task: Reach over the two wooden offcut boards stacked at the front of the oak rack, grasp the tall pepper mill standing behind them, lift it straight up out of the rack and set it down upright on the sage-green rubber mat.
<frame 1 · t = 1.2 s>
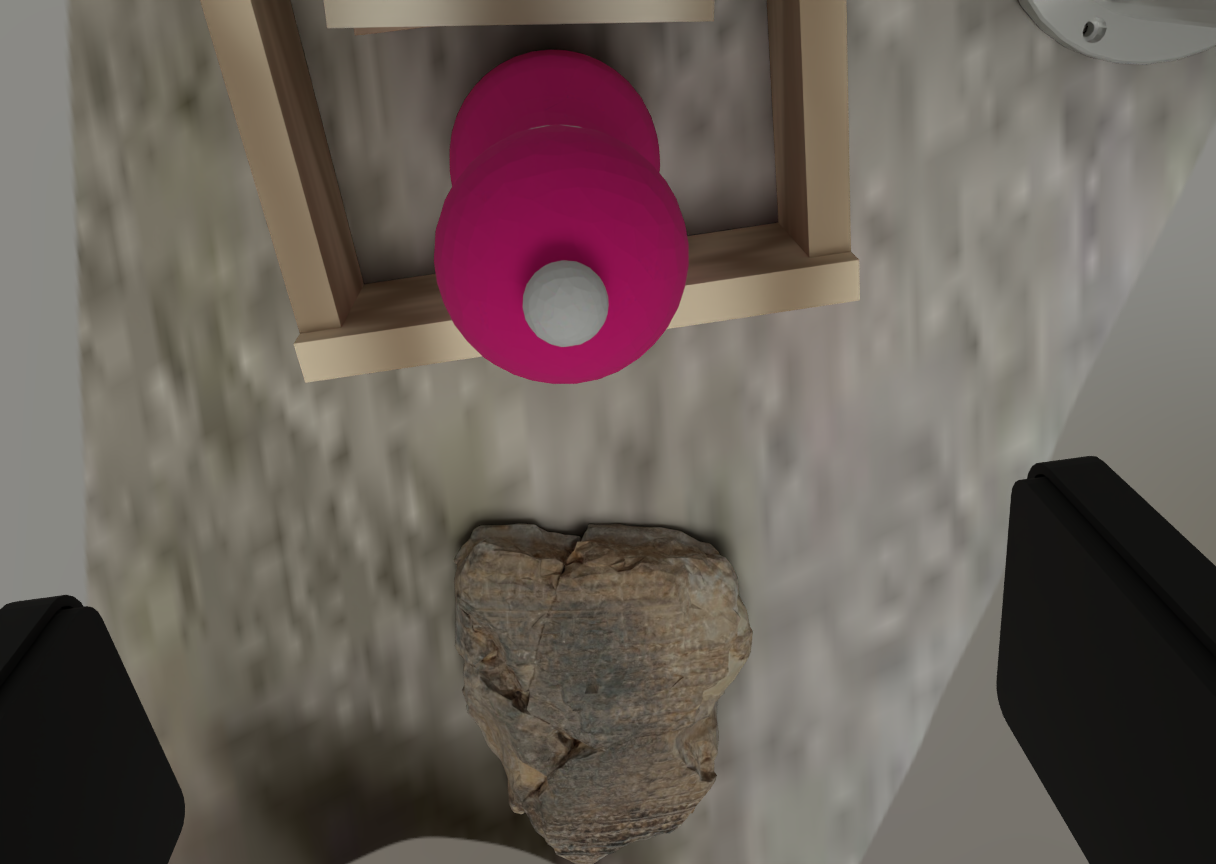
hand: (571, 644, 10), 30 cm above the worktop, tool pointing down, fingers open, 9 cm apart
clay tablet: (595, 677, 50), on the worktop
oak rack: (545, 86, 36), on the worktop
pepper mill: (553, 139, 37), on the worktop
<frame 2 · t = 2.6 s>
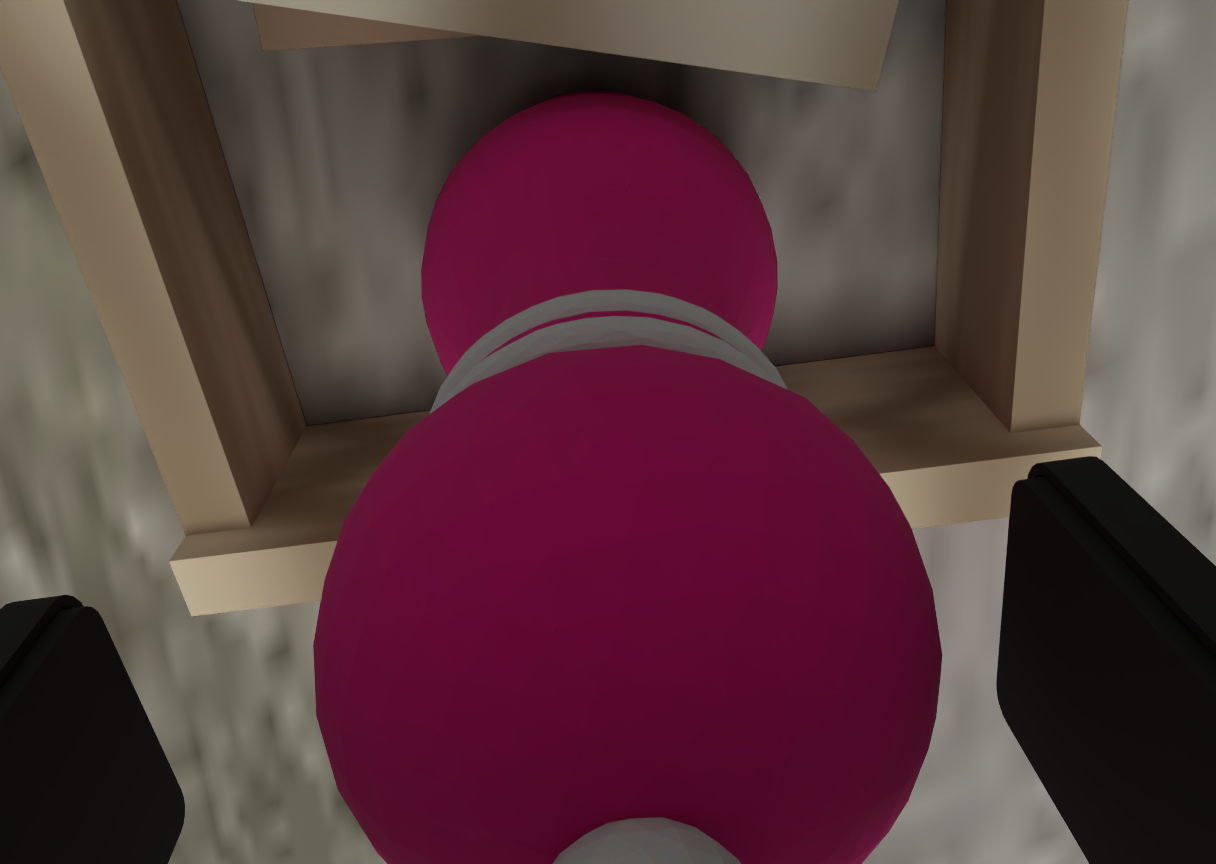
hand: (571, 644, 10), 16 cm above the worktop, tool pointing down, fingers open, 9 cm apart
oak rack: (584, 139, 23), on the worktop
pepper mill: (595, 220, 24), on the worktop
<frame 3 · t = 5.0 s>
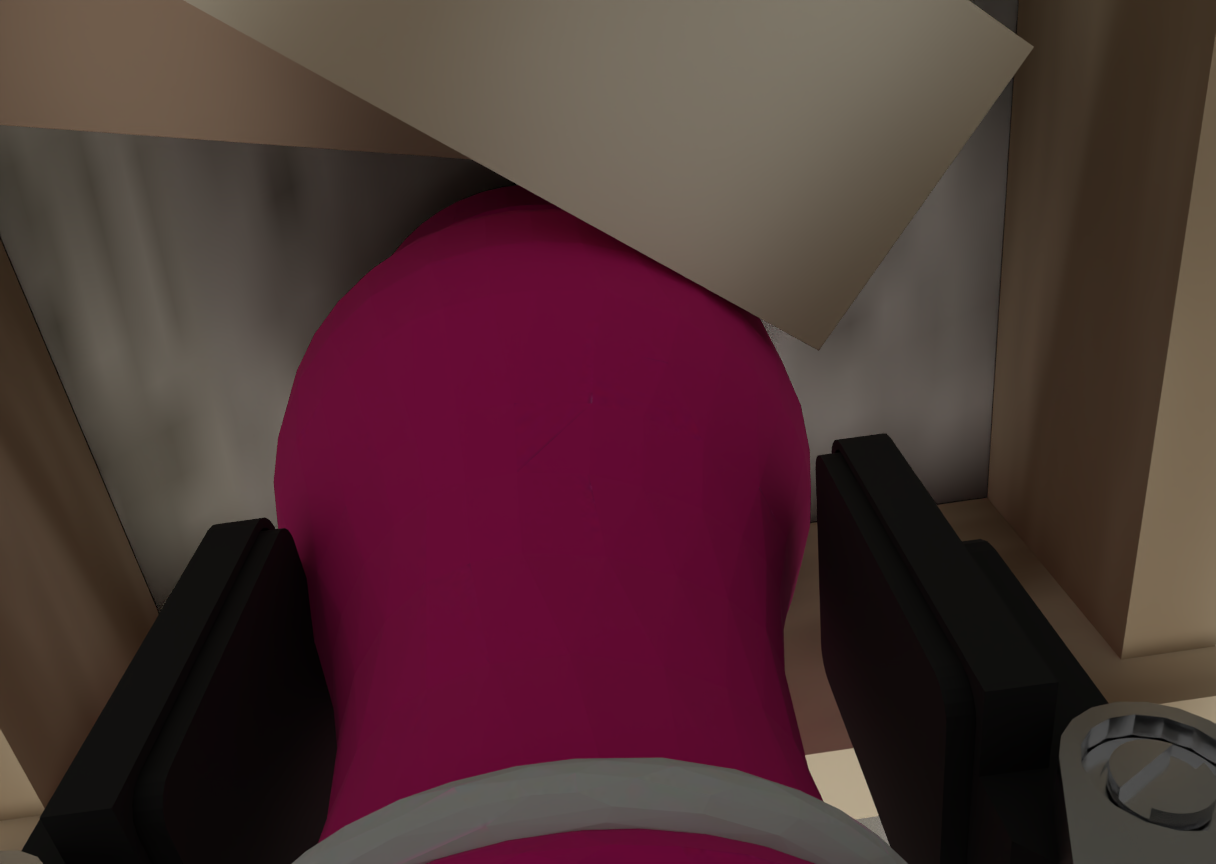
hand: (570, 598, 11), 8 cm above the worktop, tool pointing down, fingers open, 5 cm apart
oak rack: (520, 246, 17), on the worktop
pepper mill: (538, 351, 18), on the worktop, touching gripper
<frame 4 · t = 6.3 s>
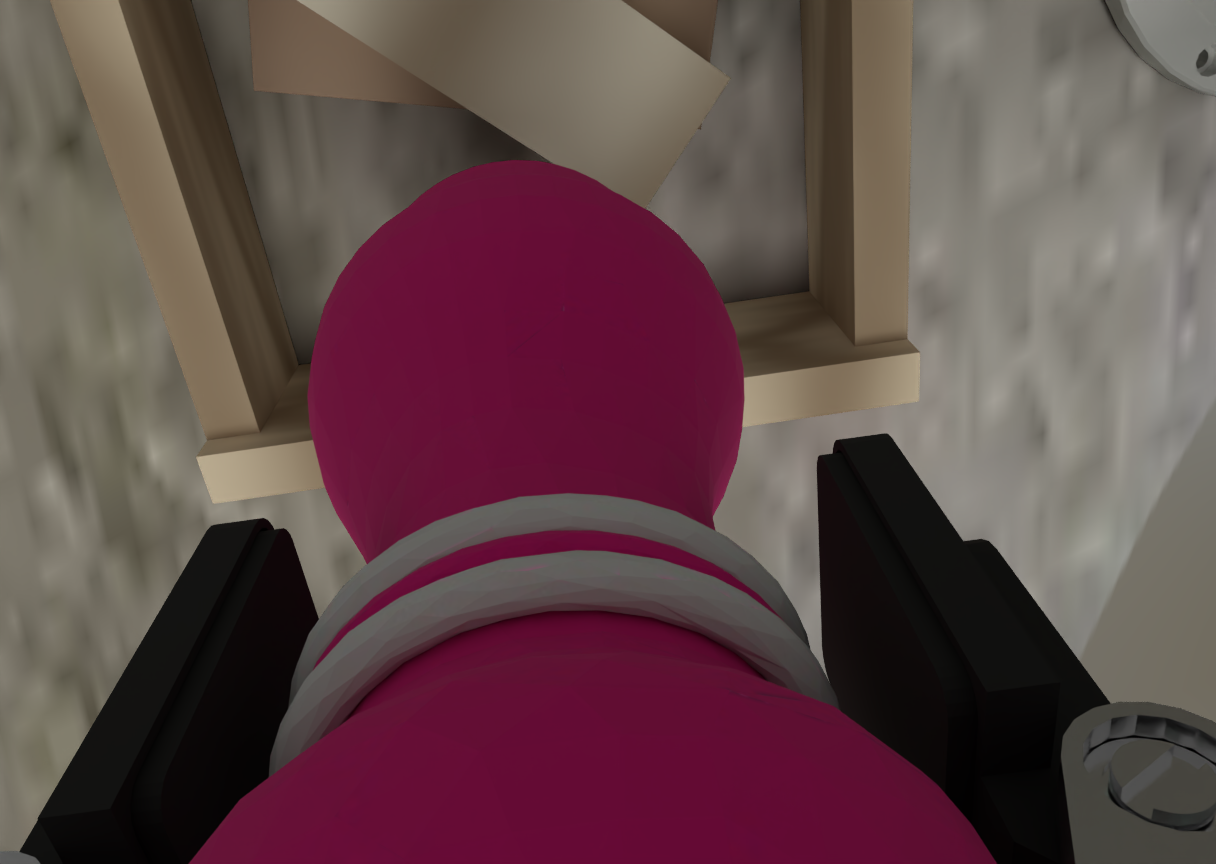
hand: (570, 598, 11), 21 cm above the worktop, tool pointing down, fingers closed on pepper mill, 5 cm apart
birch offcut: (478, 1, 25), point 3 cm above the worktop, touching walnut offcut
oak rack: (521, 125, 29), on the worktop
walnut offcut: (490, 23, 28), on the worktop, touching birch offcut
pepper mill: (522, 306, 20), point 10 cm above the worktop, touching gripper
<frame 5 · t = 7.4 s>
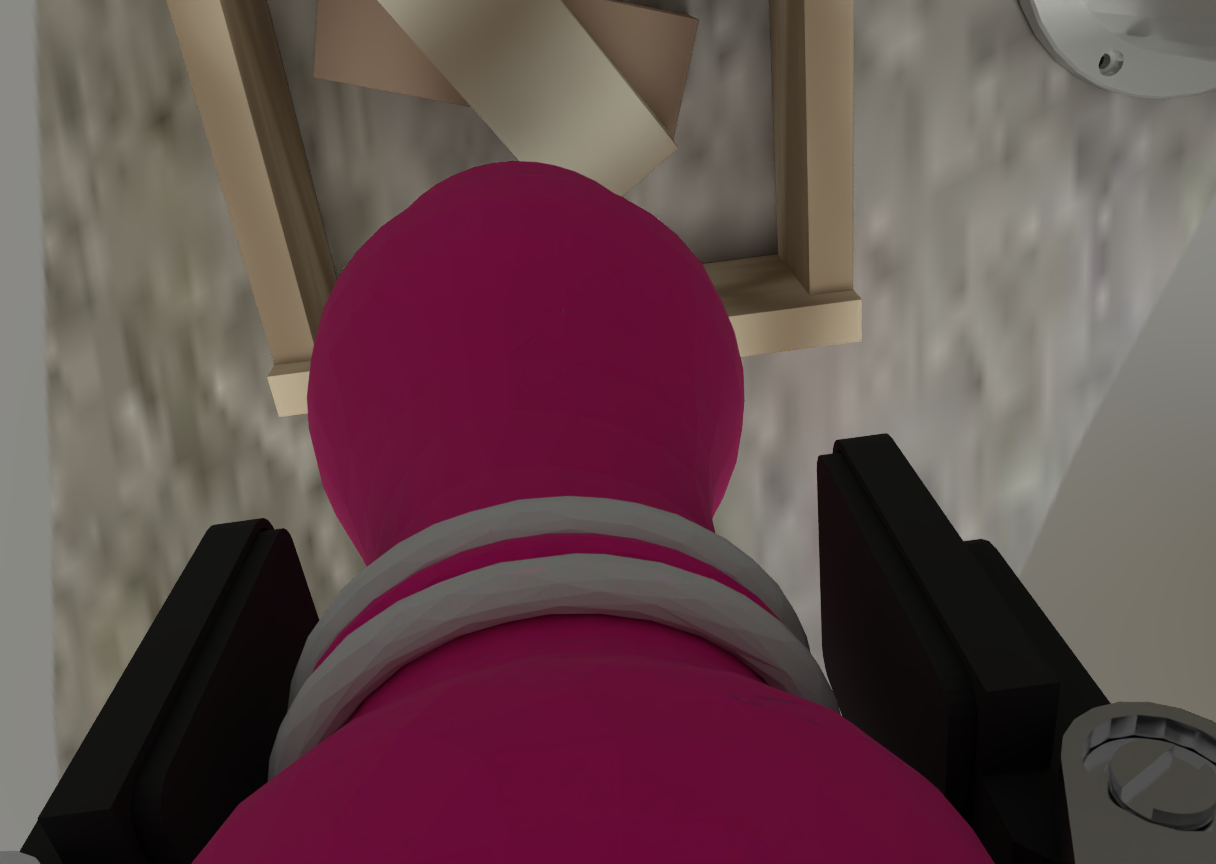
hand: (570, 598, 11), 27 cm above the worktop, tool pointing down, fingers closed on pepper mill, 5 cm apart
birch offcut: (503, 27, 31), point 2 cm above the worktop, touching walnut offcut
oak rack: (536, 109, 34), on the worktop
walnut offcut: (508, 40, 34), on the worktop, touching birch offcut
pepper mill: (521, 307, 20), point 16 cm above the worktop, touching gripper
when the fingers open (11 cm above the worktop, at t = 12.2 s): pepper mill stays where it is, resting on green mat.
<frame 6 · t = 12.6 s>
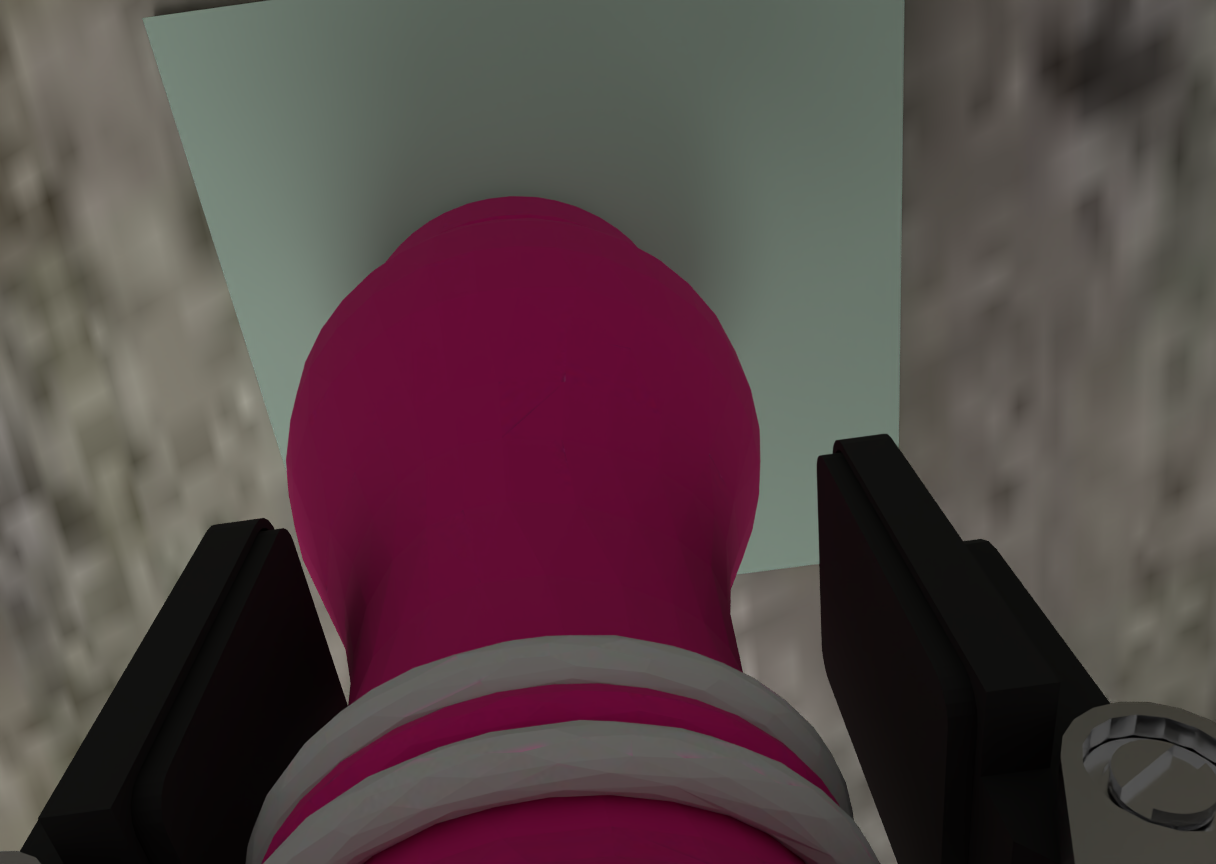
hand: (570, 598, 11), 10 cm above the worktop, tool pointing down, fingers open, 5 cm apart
green mat: (575, 316, 19), on the worktop
pepper mill: (520, 348, 19), point 1 cm above the worktop, touching green mat, gripper
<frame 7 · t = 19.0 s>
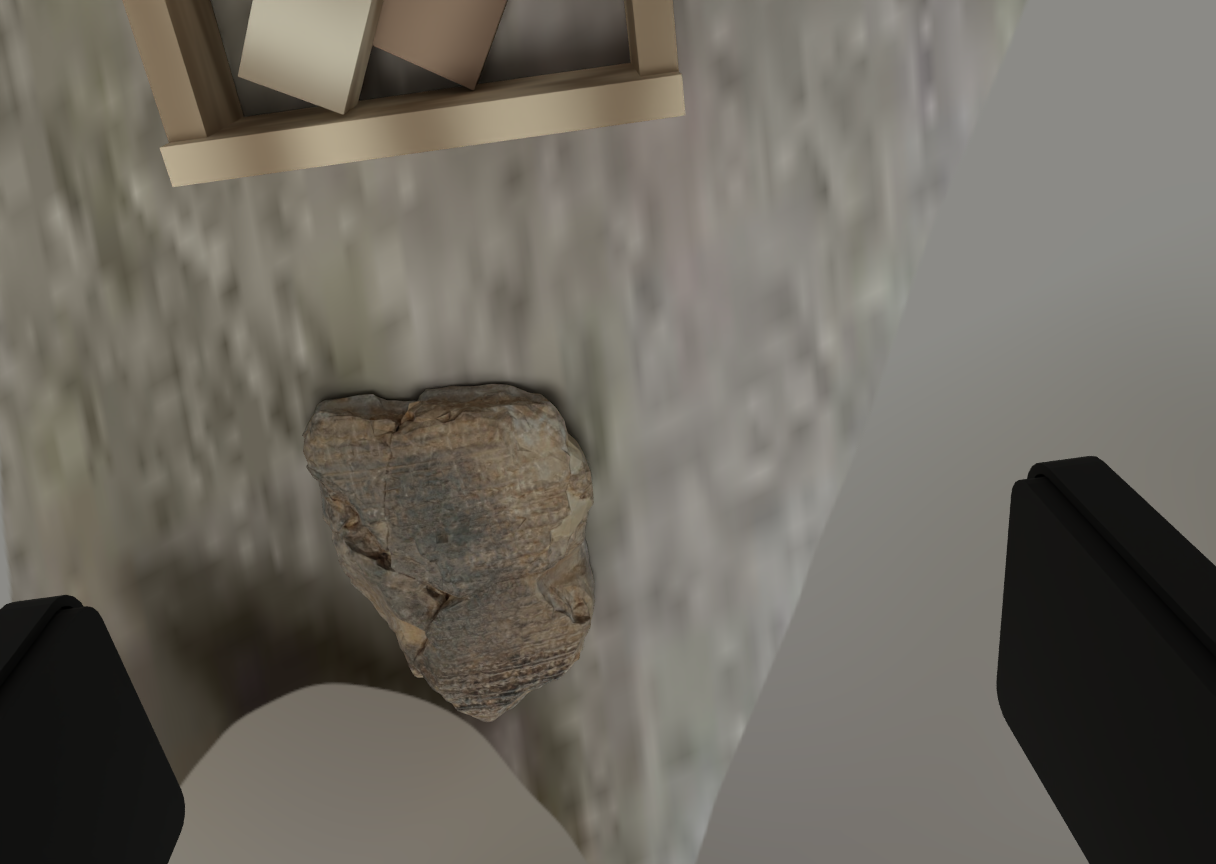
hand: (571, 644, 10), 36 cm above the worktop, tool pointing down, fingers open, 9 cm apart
clay tablet: (472, 542, 53), on the worktop
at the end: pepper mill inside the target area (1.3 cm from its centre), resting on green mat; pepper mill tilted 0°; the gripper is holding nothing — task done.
